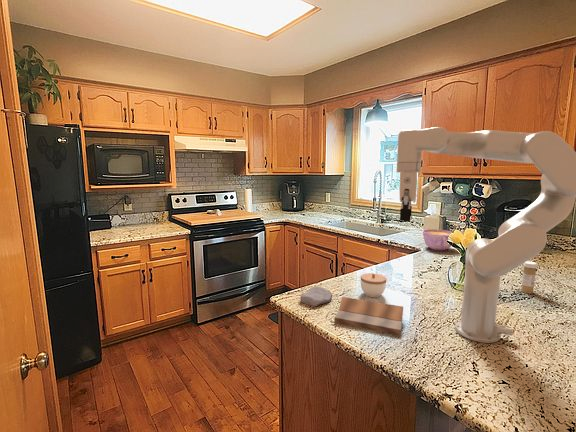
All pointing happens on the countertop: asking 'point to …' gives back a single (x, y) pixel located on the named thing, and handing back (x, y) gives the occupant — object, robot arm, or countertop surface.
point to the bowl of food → (436, 239)
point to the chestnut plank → (371, 308)
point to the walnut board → (368, 322)
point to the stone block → (316, 296)
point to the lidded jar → (373, 284)
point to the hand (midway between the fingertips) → (405, 218)
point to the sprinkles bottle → (528, 277)
